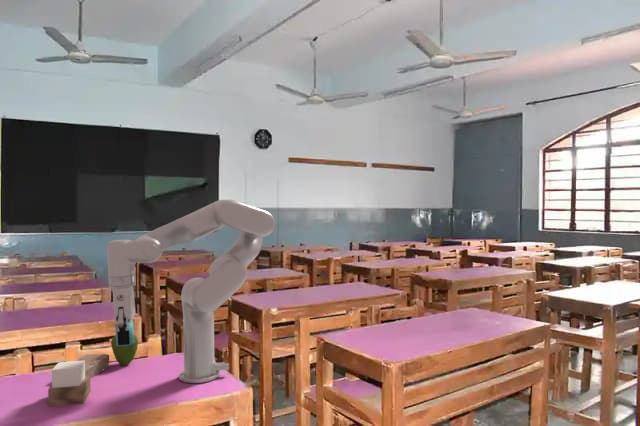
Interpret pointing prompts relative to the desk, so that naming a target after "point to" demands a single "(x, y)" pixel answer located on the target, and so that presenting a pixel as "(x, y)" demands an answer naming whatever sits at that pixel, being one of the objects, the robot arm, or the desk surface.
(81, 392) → the tower base
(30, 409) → the desk surface
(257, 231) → the robot arm
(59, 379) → the tower top
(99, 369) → the brick
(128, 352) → the green egg shape
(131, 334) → the cylinder
